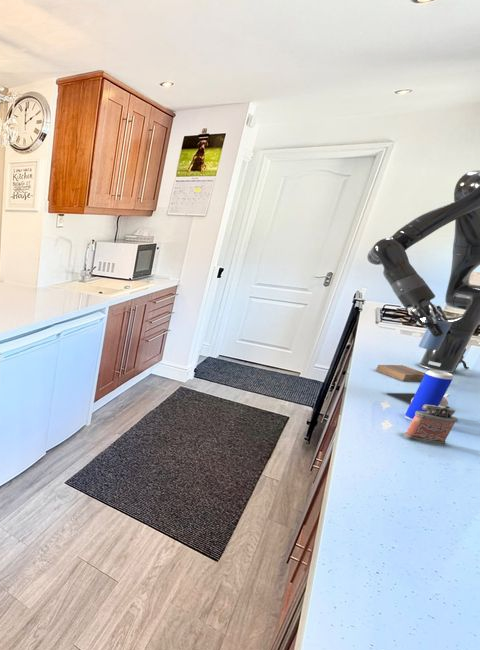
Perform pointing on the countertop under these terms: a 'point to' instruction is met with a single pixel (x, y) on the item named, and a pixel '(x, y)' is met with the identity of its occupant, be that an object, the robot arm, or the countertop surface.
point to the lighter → (431, 424)
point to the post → (430, 340)
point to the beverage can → (429, 391)
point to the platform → (401, 372)
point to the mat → (404, 397)
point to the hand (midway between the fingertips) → (443, 335)
